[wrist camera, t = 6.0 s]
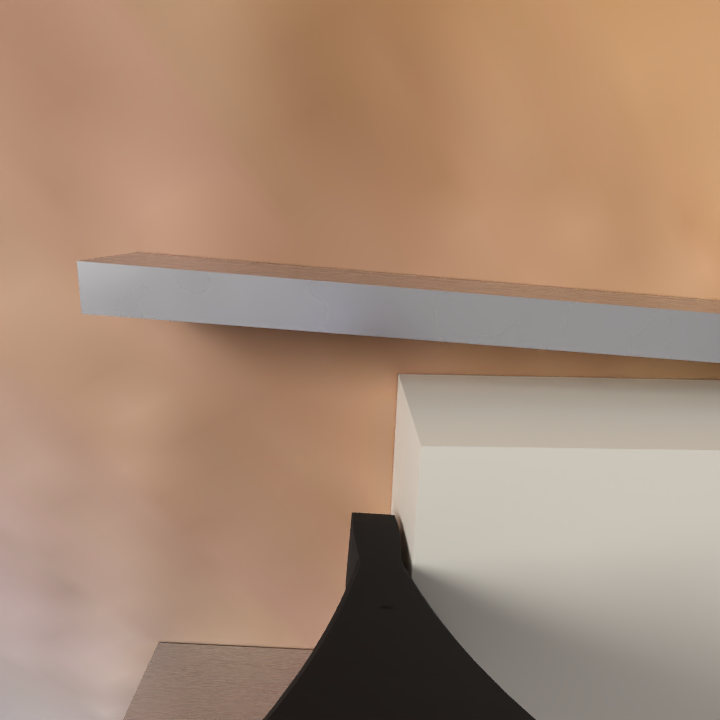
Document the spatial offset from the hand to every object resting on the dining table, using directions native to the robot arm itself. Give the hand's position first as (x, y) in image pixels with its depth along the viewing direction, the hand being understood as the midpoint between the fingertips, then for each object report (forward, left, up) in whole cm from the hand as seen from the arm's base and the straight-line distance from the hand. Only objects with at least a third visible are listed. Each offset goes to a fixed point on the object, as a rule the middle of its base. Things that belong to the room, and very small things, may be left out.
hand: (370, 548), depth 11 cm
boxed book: (0, -7, -2) cm, 7 cm away
